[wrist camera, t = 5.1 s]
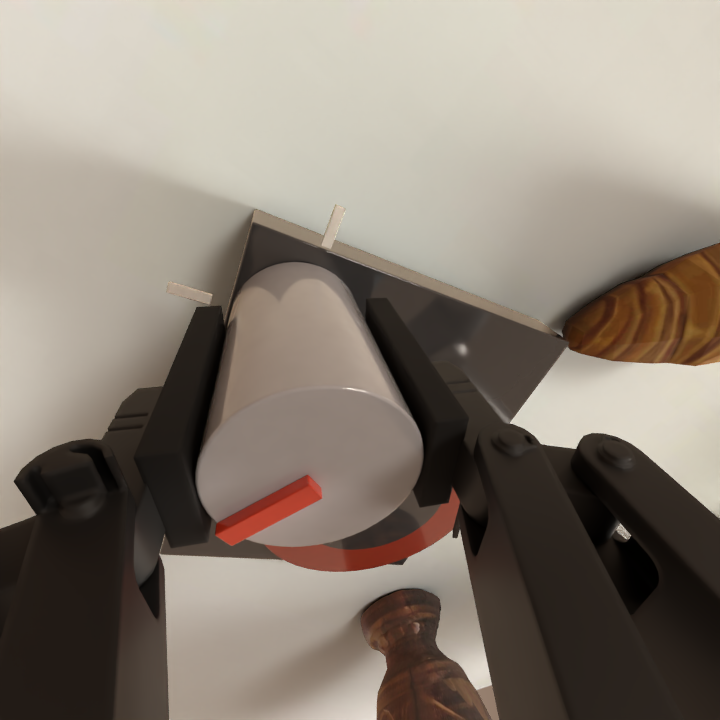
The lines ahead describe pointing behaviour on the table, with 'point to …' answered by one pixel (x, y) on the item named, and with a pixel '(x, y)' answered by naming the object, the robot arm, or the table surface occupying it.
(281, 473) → the knob
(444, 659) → the mortar and pestle
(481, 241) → the table surface
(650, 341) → the croissant
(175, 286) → the stove
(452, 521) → the burner
